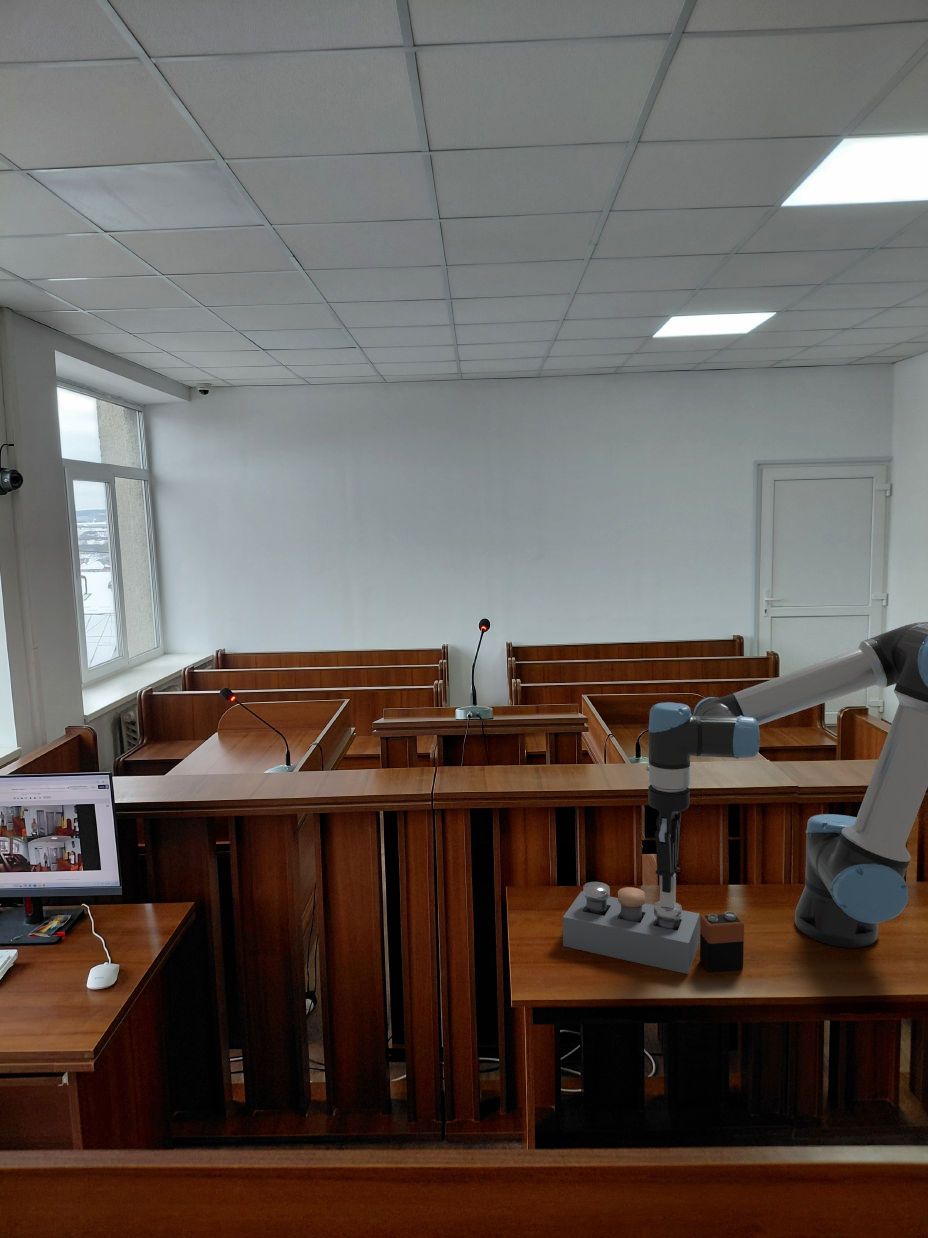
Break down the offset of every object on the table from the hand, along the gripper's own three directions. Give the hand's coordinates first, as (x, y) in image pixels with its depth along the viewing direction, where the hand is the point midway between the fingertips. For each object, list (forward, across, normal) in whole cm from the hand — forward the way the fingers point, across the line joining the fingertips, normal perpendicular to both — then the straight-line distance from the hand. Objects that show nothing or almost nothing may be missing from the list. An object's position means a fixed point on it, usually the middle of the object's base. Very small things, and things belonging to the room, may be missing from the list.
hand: (667, 905), depth 148 cm
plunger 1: (+6, 0, -14) cm, 15 cm away
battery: (+10, 0, +10) cm, 14 cm away
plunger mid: (+5, 0, -7) cm, 9 cm away
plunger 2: (+7, 0, 0) cm, 7 cm away
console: (+9, 0, -7) cm, 12 cm away
